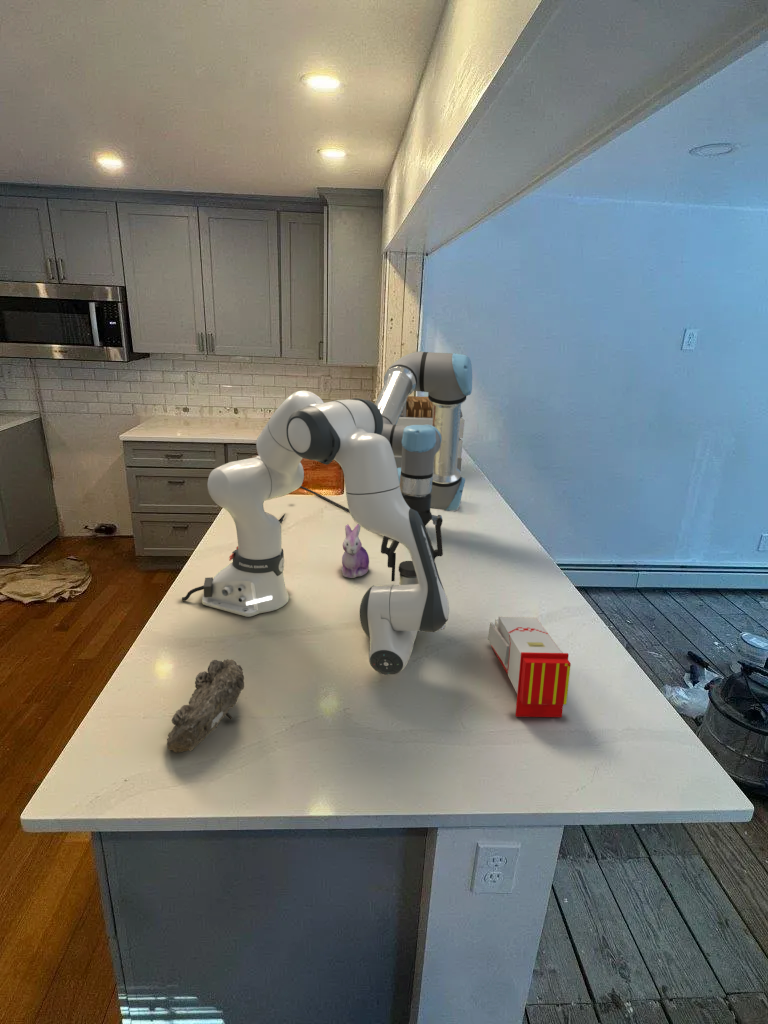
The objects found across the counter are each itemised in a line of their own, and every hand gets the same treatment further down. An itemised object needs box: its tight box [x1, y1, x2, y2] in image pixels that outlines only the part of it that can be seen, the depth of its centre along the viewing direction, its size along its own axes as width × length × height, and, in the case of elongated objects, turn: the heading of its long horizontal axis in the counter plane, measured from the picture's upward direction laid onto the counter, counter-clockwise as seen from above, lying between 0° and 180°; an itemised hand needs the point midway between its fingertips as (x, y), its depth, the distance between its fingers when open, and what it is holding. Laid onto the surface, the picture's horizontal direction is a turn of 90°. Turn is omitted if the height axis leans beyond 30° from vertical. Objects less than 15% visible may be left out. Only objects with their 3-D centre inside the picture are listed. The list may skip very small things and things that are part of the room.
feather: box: [278, 513, 286, 523], centre depth 210 cm, size 2×28×2 cm
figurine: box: [341, 523, 370, 579], centre depth 167 cm, size 9×10×15 cm
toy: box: [487, 616, 572, 718], centre depth 123 cm, size 12×13×30 cm
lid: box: [398, 560, 417, 577], centre depth 140 cm, size 6×6×2 cm
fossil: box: [166, 658, 245, 754], centre depth 106 cm, size 22×10×15 cm
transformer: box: [394, 395, 465, 472], centre depth 268 cm, size 34×33×41 cm
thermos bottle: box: [398, 572, 419, 585], centre depth 142 cm, size 5×5×15 cm
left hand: (409, 596), depth 143 cm, fingers closed on thermos bottle, 5 cm apart
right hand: (409, 579), depth 141 cm, fingers open, 8 cm apart
